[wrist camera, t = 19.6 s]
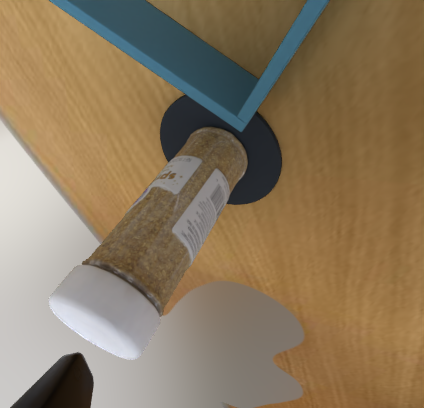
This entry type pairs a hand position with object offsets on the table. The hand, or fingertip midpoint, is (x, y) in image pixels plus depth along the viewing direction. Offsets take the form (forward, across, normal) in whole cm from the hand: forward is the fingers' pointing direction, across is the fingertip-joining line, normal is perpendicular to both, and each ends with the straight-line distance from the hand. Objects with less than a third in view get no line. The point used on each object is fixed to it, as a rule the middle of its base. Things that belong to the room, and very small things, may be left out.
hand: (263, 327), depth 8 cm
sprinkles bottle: (+15, -1, -1) cm, 15 cm away
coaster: (+16, 0, -1) cm, 16 cm away
